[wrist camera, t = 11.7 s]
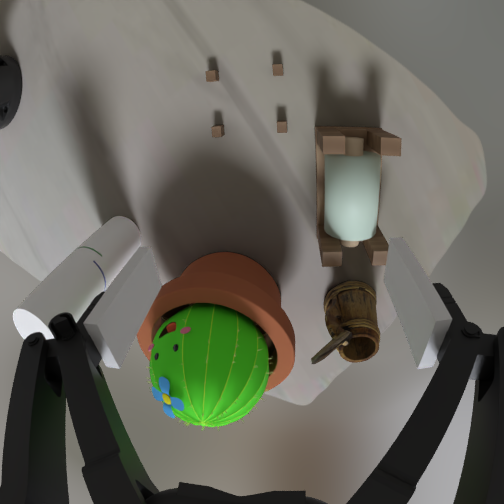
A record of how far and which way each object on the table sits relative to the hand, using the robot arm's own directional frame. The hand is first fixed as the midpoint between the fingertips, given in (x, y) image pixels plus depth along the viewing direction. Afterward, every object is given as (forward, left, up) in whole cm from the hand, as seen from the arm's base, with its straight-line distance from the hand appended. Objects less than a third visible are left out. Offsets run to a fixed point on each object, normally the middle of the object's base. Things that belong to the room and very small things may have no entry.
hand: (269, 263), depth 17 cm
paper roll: (+4, +9, -27) cm, 29 cm away
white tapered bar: (+11, -27, -28) cm, 40 cm away
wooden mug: (+23, +9, -28) cm, 37 cm away
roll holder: (+4, +9, -28) cm, 30 cm away
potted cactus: (+23, -10, -28) cm, 38 cm away
